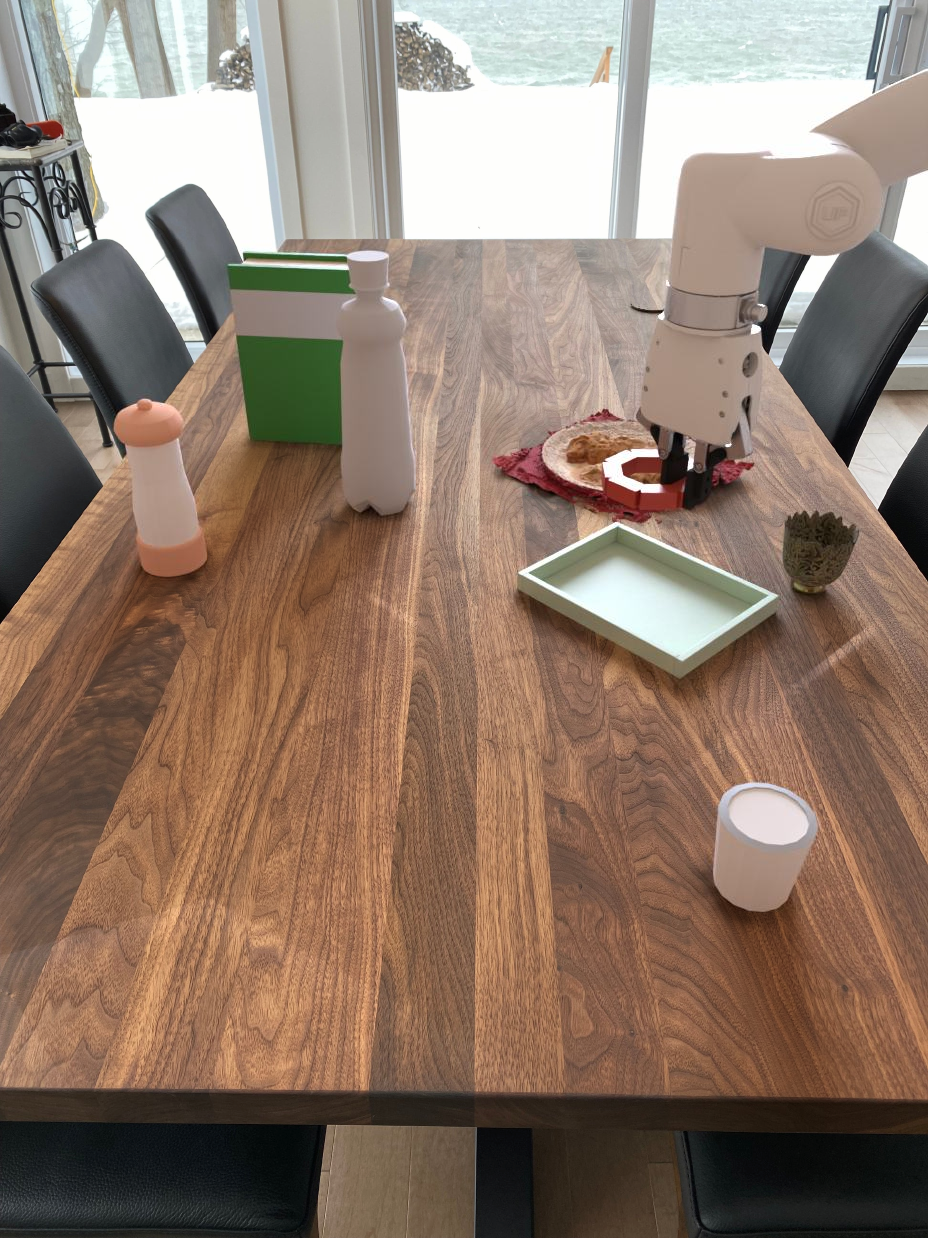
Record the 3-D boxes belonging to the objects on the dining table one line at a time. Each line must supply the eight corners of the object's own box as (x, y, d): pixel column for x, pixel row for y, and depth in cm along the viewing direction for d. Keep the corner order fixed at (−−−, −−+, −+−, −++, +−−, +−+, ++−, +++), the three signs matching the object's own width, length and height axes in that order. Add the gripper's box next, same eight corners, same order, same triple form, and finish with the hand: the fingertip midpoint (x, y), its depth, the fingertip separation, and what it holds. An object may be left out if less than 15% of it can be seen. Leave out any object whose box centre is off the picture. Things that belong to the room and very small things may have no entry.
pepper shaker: (138, 550, 113) (104, 392, 102) (202, 539, 115) (175, 383, 104) (144, 582, 107) (109, 418, 96) (211, 570, 109) (184, 408, 98)
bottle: (425, 491, 125) (420, 248, 108) (402, 524, 118) (393, 269, 101) (358, 482, 127) (343, 242, 110) (332, 514, 120) (312, 263, 103)
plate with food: (604, 420, 145) (605, 398, 143) (753, 473, 129) (757, 449, 127) (488, 470, 132) (488, 446, 130) (638, 536, 116) (640, 510, 114)
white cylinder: (730, 833, 77) (745, 767, 73) (813, 876, 73) (834, 810, 69) (687, 886, 72) (701, 819, 69) (774, 935, 69) (793, 868, 65)
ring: (721, 487, 95) (723, 471, 94) (660, 520, 90) (662, 502, 89) (643, 457, 101) (645, 441, 100) (581, 486, 96) (583, 469, 95)
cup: (857, 601, 104) (875, 535, 100) (800, 615, 102) (816, 549, 98) (812, 567, 110) (827, 504, 106) (757, 580, 108) (770, 516, 103)
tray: (775, 615, 102) (779, 595, 101) (679, 682, 93) (682, 661, 91) (614, 540, 115) (616, 521, 114) (516, 592, 106) (517, 572, 104)
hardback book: (249, 439, 138) (227, 265, 125) (264, 419, 144) (244, 250, 131) (371, 446, 137) (362, 270, 123) (382, 425, 143) (374, 255, 129)
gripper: (816, 317, 80) (777, 515, 91) (661, 278, 90) (642, 462, 100) (765, 338, 76) (730, 543, 86) (608, 295, 86) (594, 484, 96)
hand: (683, 498), depth 93 cm, fingers closed on ring, 2 cm apart
